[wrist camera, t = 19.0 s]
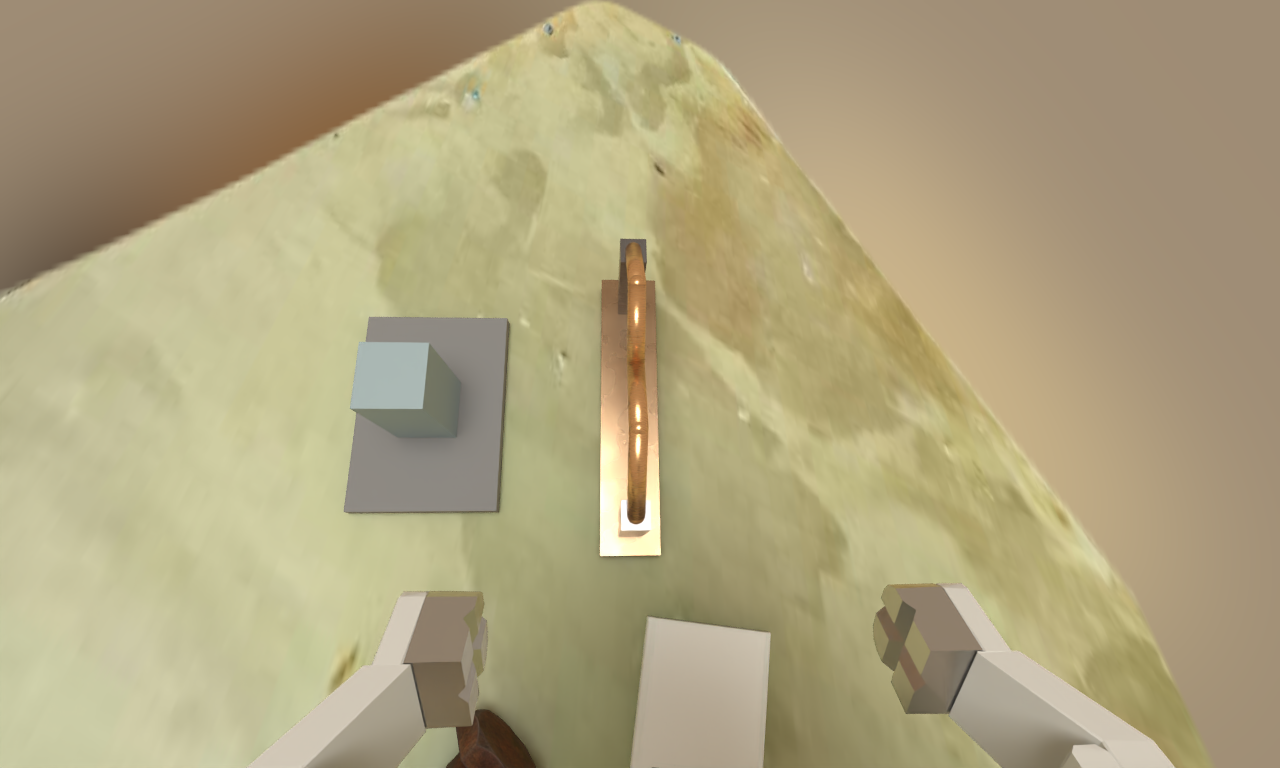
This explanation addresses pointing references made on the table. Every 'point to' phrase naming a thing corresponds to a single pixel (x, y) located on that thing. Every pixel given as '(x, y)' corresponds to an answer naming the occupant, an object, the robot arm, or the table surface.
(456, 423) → the block
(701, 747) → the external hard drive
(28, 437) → the table surface
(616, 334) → the wire frame
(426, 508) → the pad
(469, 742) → the bolt
